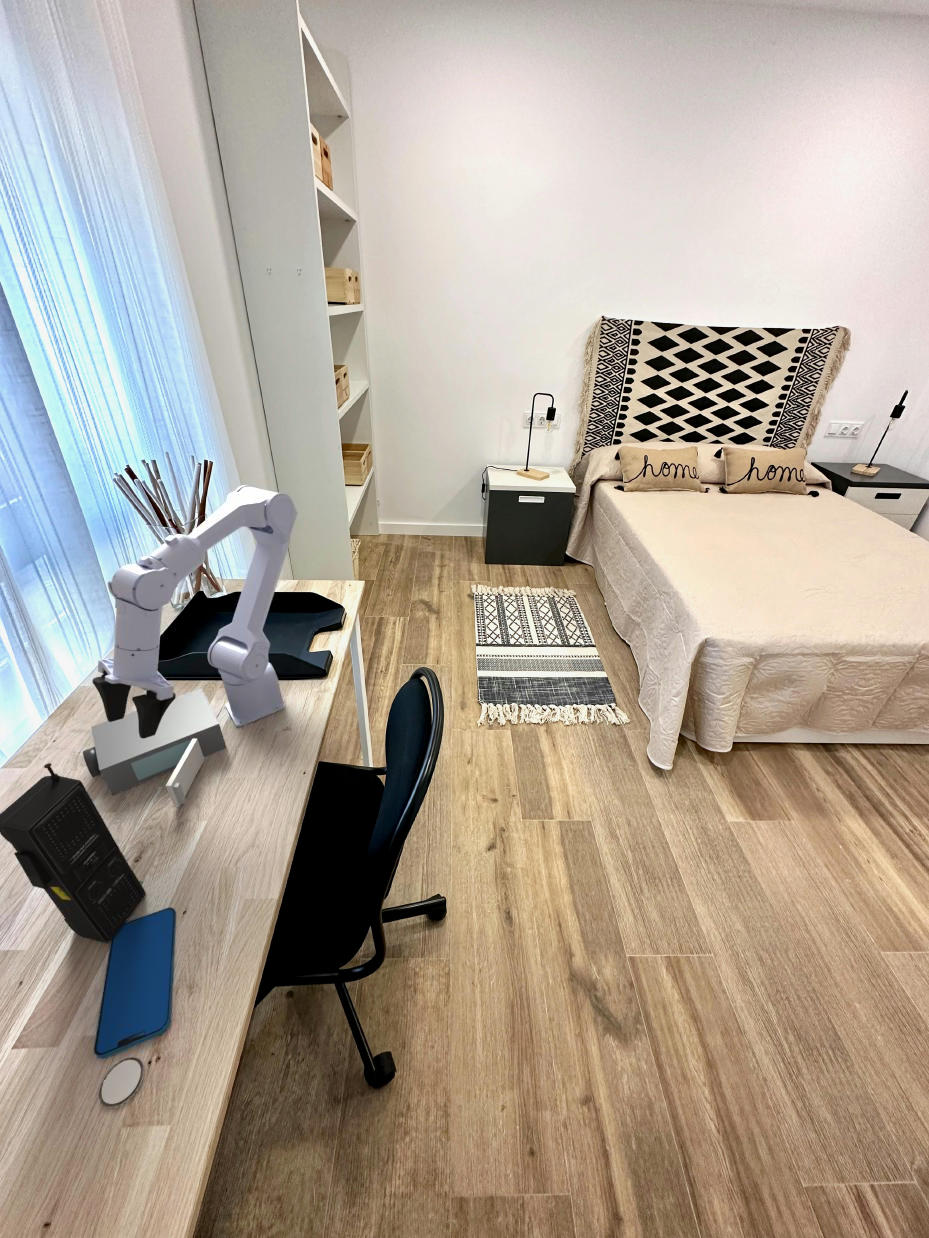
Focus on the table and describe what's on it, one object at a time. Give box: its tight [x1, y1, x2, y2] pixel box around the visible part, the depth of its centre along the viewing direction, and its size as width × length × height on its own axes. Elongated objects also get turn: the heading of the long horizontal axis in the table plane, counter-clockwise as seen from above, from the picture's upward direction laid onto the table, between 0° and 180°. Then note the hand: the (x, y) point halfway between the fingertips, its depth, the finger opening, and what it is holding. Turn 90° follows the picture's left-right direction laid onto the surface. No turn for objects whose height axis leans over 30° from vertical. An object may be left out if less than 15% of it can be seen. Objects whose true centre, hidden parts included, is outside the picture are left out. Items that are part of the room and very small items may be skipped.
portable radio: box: [0, 762, 147, 944], centre depth 61 cm, size 8×6×25 cm
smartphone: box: [93, 907, 177, 1060], centre depth 61 cm, size 7×1×15 cm
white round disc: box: [98, 1056, 146, 1109], centre depth 53 cm, size 4×4×1 cm
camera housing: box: [82, 687, 227, 796], centre depth 90 cm, size 20×12×6 cm, turn 127°
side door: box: [165, 739, 205, 808], centre depth 84 cm, size 10×2×5 cm, turn 2°
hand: (131, 727), depth 79 cm, fingers open, 7 cm apart
